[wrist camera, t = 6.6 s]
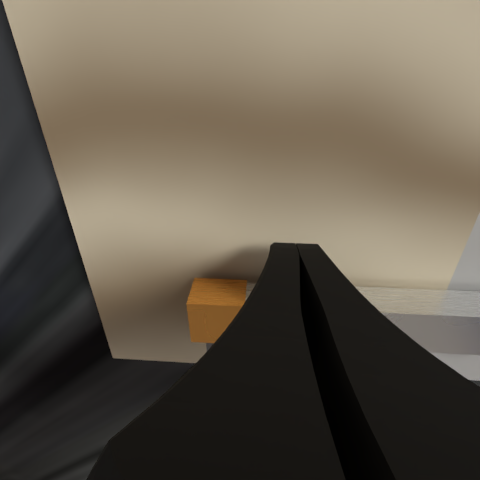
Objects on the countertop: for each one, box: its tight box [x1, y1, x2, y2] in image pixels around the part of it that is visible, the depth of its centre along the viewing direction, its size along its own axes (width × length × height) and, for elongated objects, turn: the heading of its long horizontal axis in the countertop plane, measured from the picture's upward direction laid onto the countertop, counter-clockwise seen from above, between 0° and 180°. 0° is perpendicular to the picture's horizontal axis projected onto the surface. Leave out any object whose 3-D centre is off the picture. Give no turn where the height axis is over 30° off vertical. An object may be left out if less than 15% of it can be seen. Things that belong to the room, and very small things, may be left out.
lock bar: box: [186, 278, 480, 355], centre depth 10 cm, size 12×2×1 cm, turn 90°
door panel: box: [2, 0, 480, 363], centre depth 10 cm, size 18×12×2 cm
